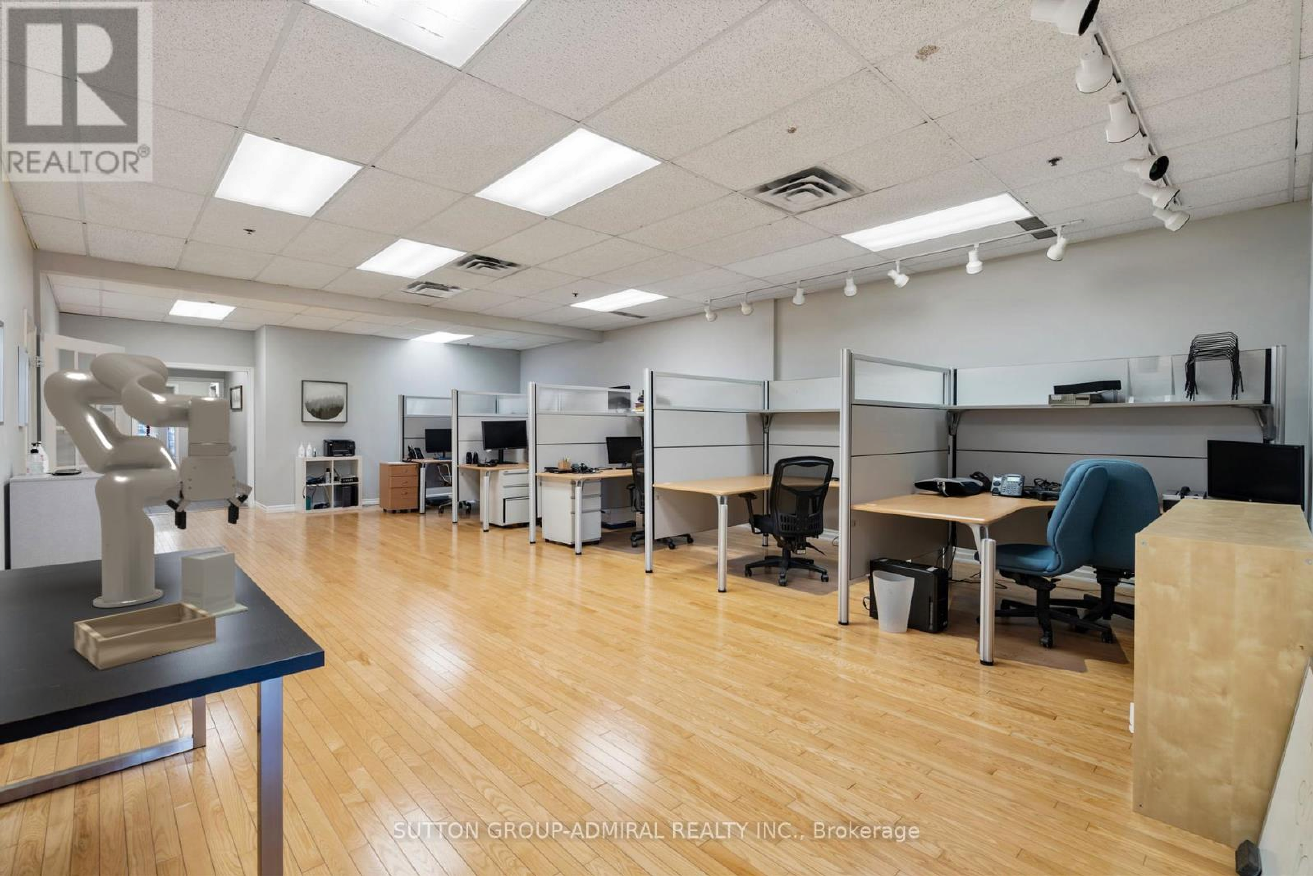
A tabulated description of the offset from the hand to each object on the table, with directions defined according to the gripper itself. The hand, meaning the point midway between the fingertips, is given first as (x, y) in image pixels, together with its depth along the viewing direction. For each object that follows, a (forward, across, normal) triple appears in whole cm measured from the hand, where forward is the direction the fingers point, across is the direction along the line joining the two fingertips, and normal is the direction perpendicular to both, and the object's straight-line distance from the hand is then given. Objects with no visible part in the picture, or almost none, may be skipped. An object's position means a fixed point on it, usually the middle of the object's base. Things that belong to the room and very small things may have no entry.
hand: (207, 526), depth 134 cm
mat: (+20, 0, +1) cm, 20 cm away
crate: (+19, +15, +15) cm, 29 cm away
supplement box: (+19, 0, +1) cm, 19 cm away
